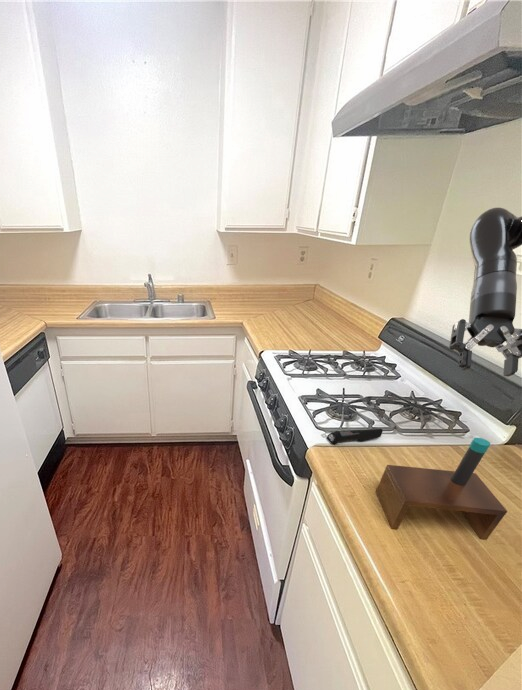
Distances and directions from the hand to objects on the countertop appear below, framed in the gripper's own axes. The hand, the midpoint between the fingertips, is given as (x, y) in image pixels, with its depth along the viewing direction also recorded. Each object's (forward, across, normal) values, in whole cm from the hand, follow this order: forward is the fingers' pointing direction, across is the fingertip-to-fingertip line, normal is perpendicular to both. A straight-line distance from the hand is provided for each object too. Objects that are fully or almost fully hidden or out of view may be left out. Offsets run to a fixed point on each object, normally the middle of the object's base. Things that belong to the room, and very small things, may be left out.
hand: (487, 372), depth 72 cm
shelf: (+31, -6, +5) cm, 32 cm away
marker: (+24, -3, +1) cm, 24 cm away
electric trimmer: (+14, -17, +25) cm, 34 cm away
